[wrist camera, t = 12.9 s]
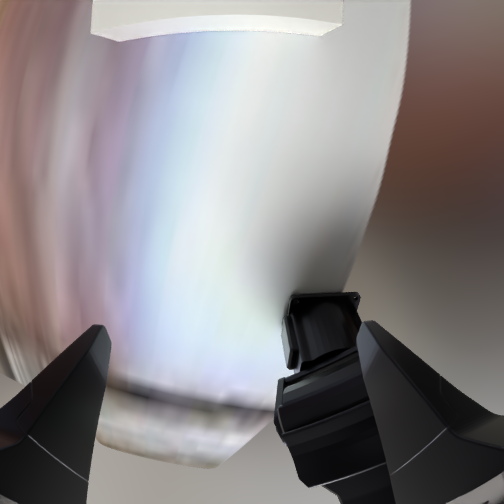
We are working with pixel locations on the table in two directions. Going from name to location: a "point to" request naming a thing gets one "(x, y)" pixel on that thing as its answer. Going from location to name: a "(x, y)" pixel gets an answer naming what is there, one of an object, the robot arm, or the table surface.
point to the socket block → (212, 17)
